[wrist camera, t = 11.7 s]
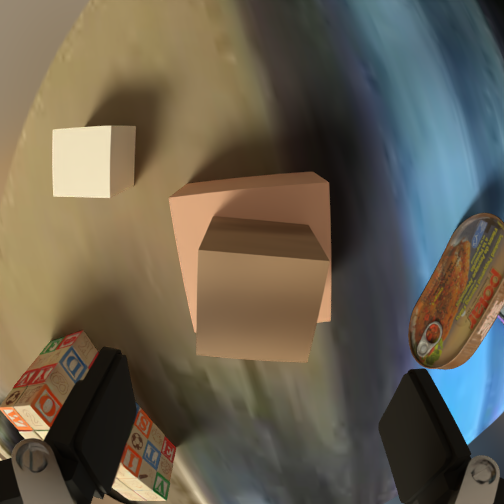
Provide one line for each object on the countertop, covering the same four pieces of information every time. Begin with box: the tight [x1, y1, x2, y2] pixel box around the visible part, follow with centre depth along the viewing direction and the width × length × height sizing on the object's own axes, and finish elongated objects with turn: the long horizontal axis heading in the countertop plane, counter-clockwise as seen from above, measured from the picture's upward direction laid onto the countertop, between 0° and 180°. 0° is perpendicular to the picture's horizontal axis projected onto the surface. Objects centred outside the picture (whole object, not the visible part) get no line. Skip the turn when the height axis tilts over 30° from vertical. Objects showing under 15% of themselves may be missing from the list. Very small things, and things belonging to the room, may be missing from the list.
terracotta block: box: [169, 172, 331, 332], centre depth 24 cm, size 10×10×6 cm
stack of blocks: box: [0, 330, 176, 501], centre depth 28 cm, size 21×6×12 cm, turn 22°
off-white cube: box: [52, 126, 136, 198], centre depth 22 cm, size 5×5×5 cm
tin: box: [408, 213, 504, 369], centre depth 24 cm, size 15×3×8 cm, turn 159°
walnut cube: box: [196, 216, 330, 362], centre depth 18 cm, size 6×6×6 cm
